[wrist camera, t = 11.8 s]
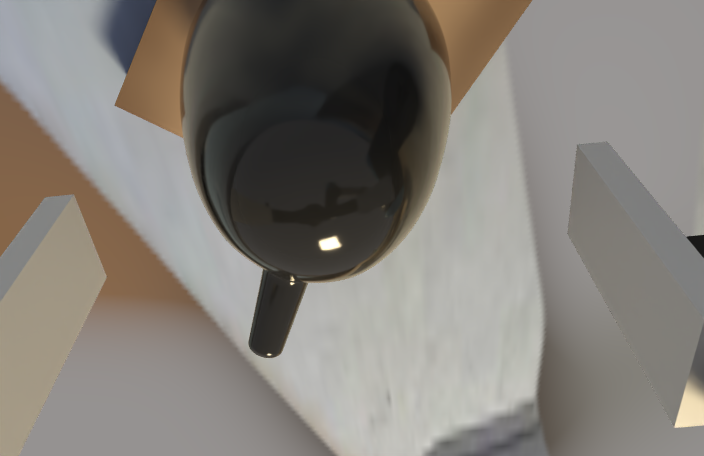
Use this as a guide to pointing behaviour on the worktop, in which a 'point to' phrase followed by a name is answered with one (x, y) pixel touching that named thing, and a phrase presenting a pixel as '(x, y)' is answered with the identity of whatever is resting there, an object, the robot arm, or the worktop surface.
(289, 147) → the glossy black egg shape
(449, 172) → the worktop surface
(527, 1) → the walnut stand
